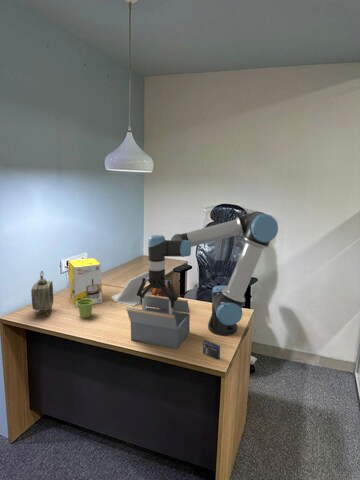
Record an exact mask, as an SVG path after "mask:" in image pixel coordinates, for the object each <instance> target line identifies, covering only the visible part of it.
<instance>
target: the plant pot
mask: <svg viewBox="0 0 360 480" xmlns="http://www.w3.org/2000/svg"><path fill="white" fill-rule="evenodd" d="M93 302H94V300H92V299H81V300H78V301H77V305H78V307H77V308H78V312H79V316H80V318H81V319H85V318H86V319H87V318H91V317H92V314H93V313H92V312H93V305H94V304H93Z"/></svg>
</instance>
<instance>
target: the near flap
mask: <svg viewBox="0 0 360 480" xmlns="http://www.w3.org/2000/svg"><path fill="white" fill-rule="evenodd" d="M125 310H126V312H127V314H128V319H129V322H130V323H131V322H136V323H141V324H147V325H153V326H159V327H164V328H170V329H176V330H177V324H176V319H175V315H172V314H166V313H160V312H153V311H147V310H142V308H141V309H139V308H133V307H129V306H127V307H126V308H125Z"/></svg>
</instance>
